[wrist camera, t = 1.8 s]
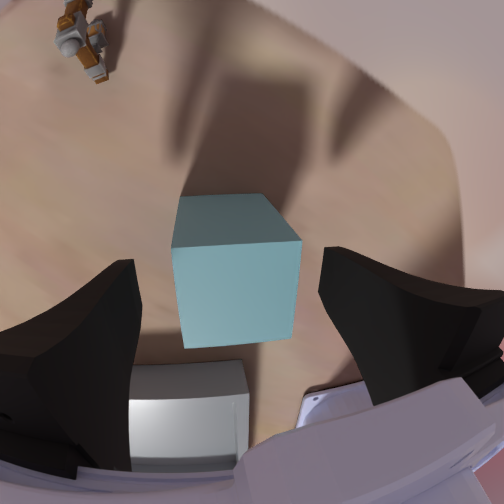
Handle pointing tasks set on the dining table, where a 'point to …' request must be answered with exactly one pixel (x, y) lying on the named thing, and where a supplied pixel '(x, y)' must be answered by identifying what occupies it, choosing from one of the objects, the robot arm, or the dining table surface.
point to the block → (234, 270)
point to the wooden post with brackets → (82, 38)
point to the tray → (188, 417)
